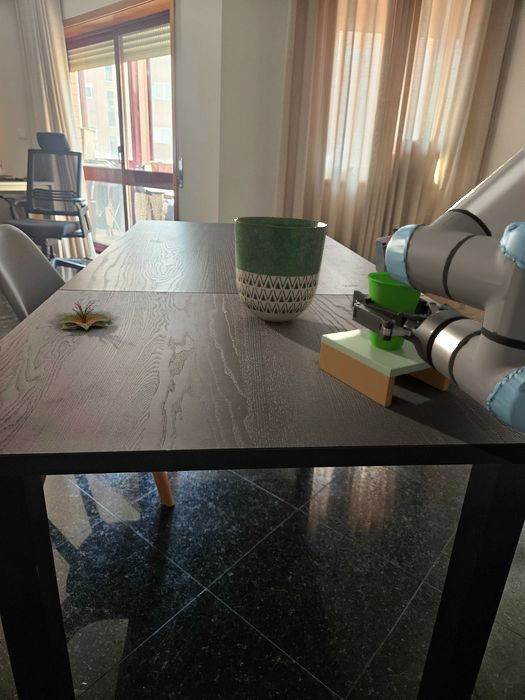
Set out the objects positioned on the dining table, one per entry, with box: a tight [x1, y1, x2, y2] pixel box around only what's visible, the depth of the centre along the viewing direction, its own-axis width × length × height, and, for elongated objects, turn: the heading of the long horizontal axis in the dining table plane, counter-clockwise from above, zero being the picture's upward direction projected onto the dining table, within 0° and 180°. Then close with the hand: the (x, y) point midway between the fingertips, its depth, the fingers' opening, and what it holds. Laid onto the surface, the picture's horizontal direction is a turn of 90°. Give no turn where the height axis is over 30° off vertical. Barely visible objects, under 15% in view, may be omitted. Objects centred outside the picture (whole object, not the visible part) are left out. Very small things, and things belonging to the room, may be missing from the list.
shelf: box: [318, 327, 451, 408], centre depth 77 cm, size 16×14×6 cm
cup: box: [366, 271, 423, 350], centre depth 74 cm, size 9×9×11 cm
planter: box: [234, 216, 328, 323], centre depth 103 cm, size 20×20×21 cm
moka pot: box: [375, 228, 400, 272], centre depth 118 cm, size 10×15×20 cm, turn 145°
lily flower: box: [53, 300, 115, 331], centre depth 95 cm, size 12×12×5 cm
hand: (379, 298), depth 78 cm, fingers closed on cup, 8 cm apart
